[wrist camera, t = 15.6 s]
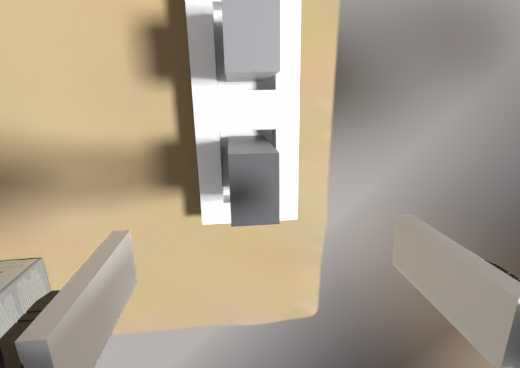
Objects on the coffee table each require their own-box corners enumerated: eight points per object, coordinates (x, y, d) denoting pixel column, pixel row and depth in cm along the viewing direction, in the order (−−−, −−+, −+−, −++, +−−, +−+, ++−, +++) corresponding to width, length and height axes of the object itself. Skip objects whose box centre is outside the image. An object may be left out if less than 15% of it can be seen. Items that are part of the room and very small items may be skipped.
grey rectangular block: (231, 186, 36) (231, 226, 25) (228, 136, 34) (227, 154, 23) (264, 184, 36) (279, 223, 25) (263, 135, 35) (279, 152, 23)
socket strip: (204, 213, 37) (192, 267, 25) (187, -16, 30) (160, -91, 18) (291, 209, 38) (319, 258, 26) (294, -15, 31) (333, -85, 19)
